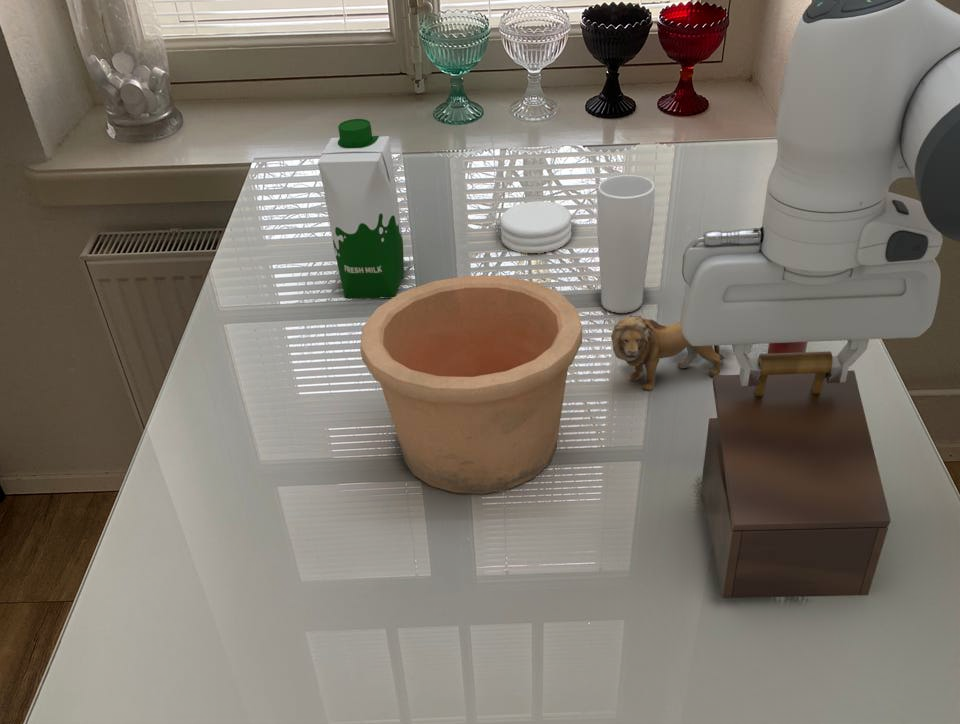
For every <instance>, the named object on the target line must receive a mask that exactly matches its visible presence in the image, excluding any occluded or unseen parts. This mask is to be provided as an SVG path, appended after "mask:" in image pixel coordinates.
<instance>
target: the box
mask: <svg viewBox="0 0 960 724" xmlns="http://www.w3.org/2000/svg"><path fill="white" fill-rule="evenodd" d="M705 442H706V443H705V450H704V459H703V467H702V469H703V470H702V476H701V484H700V485H701V486H700V496H701V501H702V507H703V514H704V515H706V516H707V520H708V526H709V532H710V537H711V542H712V547H713V553H714V560H715V564H716V571H717V576H718V581H719V587H720V592H721V597H722V599H743V598H744V599H746V598H747V599H748V598H749V599H750V598H752V599H753V598H795V597H797V598H799V597H803V598H804V597H805V598H806V597H850V596H852V597H853V596H855V597H856V596H869V595H870V592H871V591H870V590H871V588H872V584H873V580H874V577H875V574H876V570H877V567H878V564H879V560H880V558H881V553H882V550H883V547H884V543H885V540H886V538H887V537H886V536H887V533H888V530H889V526H888V527H859V528H819V529H779V530H738V531H733V529H732V522H731V515H730V507H729V500H728V493H727V485H726V478H725V471H724V463H723V456H722V448H721V441H720V434H719V426H718V419H717V417H709V419H708V425H707V434H706V441H705Z"/></svg>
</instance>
